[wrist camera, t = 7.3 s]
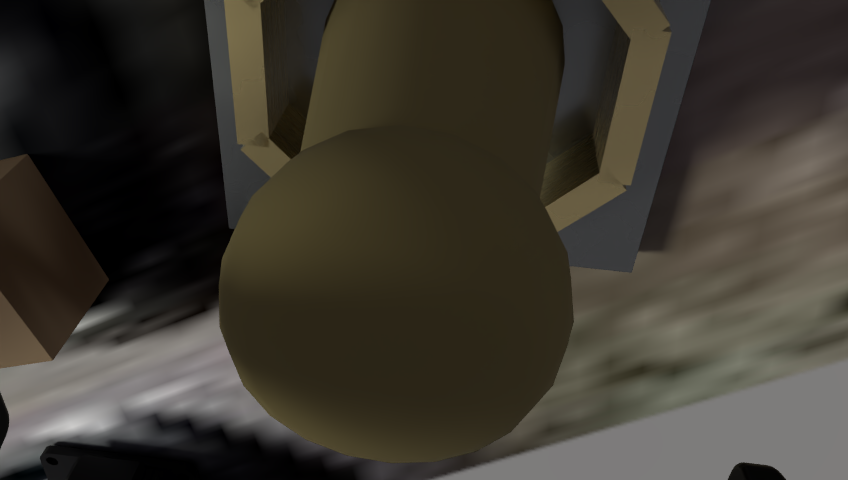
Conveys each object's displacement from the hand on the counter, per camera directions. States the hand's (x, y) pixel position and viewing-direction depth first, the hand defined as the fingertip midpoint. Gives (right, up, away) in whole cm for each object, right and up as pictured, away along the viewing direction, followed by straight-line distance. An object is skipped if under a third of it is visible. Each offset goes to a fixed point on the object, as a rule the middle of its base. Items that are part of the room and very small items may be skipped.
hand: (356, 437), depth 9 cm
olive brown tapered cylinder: (+1, +7, +10) cm, 12 cm away
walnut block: (-13, +3, +16) cm, 21 cm away
